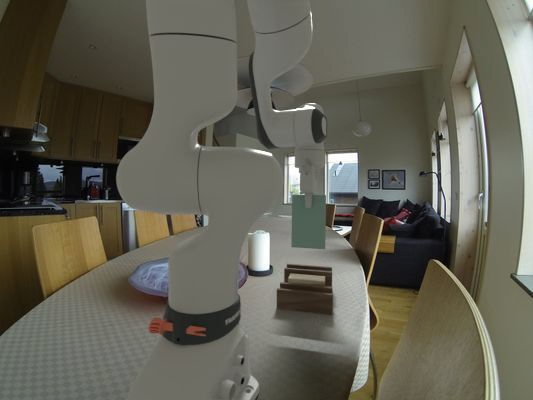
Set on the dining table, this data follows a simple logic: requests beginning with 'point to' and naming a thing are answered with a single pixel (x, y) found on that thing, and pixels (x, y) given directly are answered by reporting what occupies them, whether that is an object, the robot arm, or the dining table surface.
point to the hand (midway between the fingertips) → (308, 207)
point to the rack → (306, 291)
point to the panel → (308, 222)
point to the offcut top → (306, 279)
